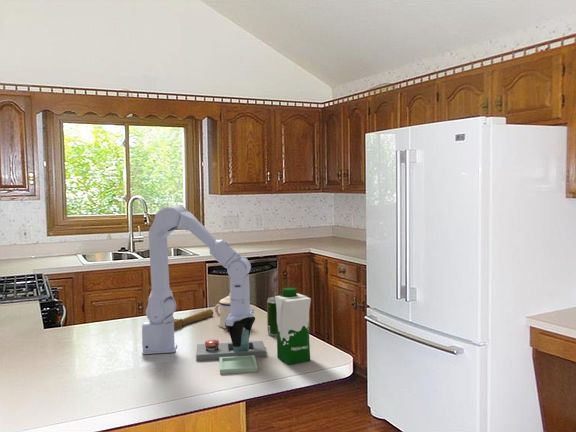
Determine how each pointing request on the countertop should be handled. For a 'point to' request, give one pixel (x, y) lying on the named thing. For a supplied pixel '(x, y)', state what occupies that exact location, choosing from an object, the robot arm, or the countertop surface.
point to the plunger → (211, 345)
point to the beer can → (272, 316)
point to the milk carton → (293, 326)
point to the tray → (238, 364)
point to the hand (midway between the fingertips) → (240, 343)
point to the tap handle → (192, 318)
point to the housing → (224, 352)
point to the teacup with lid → (223, 310)
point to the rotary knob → (243, 341)
